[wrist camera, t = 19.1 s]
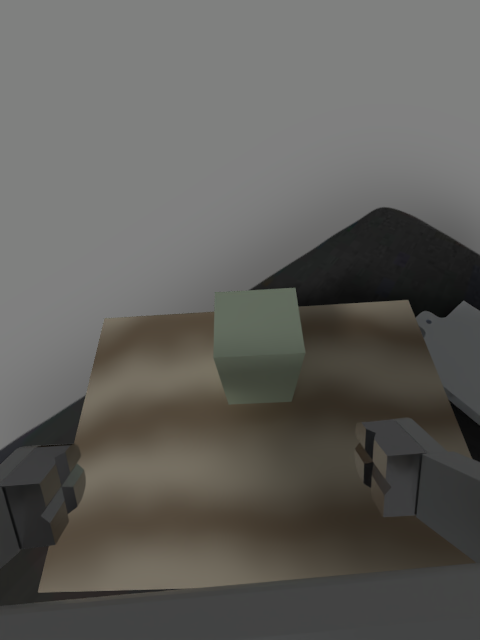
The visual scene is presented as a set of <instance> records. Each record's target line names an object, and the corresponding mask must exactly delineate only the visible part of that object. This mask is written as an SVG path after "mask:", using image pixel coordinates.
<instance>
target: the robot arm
mask: <svg viewBox="0 0 480 640" xmlns="http://www.w3.org/2000/svg"><path fill="white" fill-rule="evenodd" d="M355 436H356V437H357V439H358V440H359V444H358V445H357V446H356V448H355V463H356V468H357V471H358V474H359V476H360V478H361V480H362V482H363V483H364V484H365V485H367V486H368V487H370V488H371V497H372V499H373V501H374V502H375V504H376V506H377V508H378V509H379V511H380V513H381V514H382V516H383V517H397V516H415V515H416V517H417V518H418V519H419V520H421V521H422V522H423V523H425V524H426V525H427V526H428V527H430V528H431V529H432V530H434V531H435V532H436V533H438V534H439V535H440V536H442V537H443V538H444V539H446V540H447V541H448V542H450V543H451V544H452V545H454V546H455V547H456V548H458V549H459V550H460V551H462V552H463V553H464V554H465V555H467V556H468V557H469V558H471V559H472V560H473V561H475V562H476V563H471V564H460V565H449V566H437V567H426V568H415V569H404V570H393V571H382V572H371V573H360V574H349V575H337V576H326V577H315V578H304V579H293V580H282V581H270V582H259V583H248V584H237V585H226V586H214V587H203V588H192V589H181V590H169V591H158V592H147V593H136V594H125V595H115V596H104V597H93V598H82V599H71V600H60V601H50V602H39V603H28V604H17V605H6V606H0V640H480V462H478V461H476V460H473V459H471V458H468V457H466V456H464V455H461V454H459V453H456V452H454V451H453V452H448V451H446V450H445V449H444V448H443V447H442V446H441V445H440V444H439V443H438V442H437V441H436V440H434V439H433V438H432V437H431V436H430V435H429V434H428V433H427V432H426V431H425V430H424V429H422V428H421V427H420V426H419V425H418V424H417V423H416V422H415V421H414V420H413V419H411V418H408V417H406V418H397V419H391V420H380V421H370V422H359V423H357V425H356V429H355ZM80 458H81V453H80V449H79V446H78V445H76V444H57V445H41V446H26V447H21V448H17V449H16V450H15V451H14V452H13V453H12V454H11V455H10V456H9V457H8V458H7V459H6V460H5V461H3V462H2V463H1V464H0V568H1V567H3V566H4V565H5V564H6V563H7V562H8V561H9V560H11V559H12V558H13V557H14V556H15V555H16V554H17V553H18V552H20V549H26V548H34V547H43V546H51V545H56V543H57V541H58V540H59V538H60V536H61V535H62V533H63V531H64V529H65V528H66V526H67V524H68V523H69V518H68V514H69V513H70V512H71V511H73V510H74V509H75V508H77V507H78V505H79V503H80V501H81V500H82V498H83V494H84V490H85V487H86V476H85V471H84V469H83V468H82V467H81V466H80V465H79V464H77V463H78V461H79V460H80Z"/></svg>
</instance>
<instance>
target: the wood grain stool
mask: <svg viewBox="0 0 480 640" xmlns="http://www.w3.org/2000/svg"><path fill="white" fill-rule="evenodd" d="M298 308H299V315H300V321H301V328H302V334H303V341H304V347H305V356H304V360H303V363H302V367H301V370H300V374H299V378H298V381H297V385H296V388H295V392H294V395H293V399H292V402H276V403H253V404H230V405H229V404H228V401H227V398H226V395H225V392H224V389H223V386H222V383H221V380H220V377H219V374H218V371H217V367H216V364H215V361H214V358H213V349H214V312H204V313H187V314H172V315H171V314H170V315H154V316H137V317H121V318H105V319H104V323H103V327H102V331H101V335H100V339H99V344H98V348H97V352H96V356H95V360H94V364H93V368H92V373H91V376H90V380H89V385H88V389H87V393H86V397H85V401H84V405H83V409H82V413H81V417H80V421H79V426H78V430H77V434H76V438H75V442H74V444H76V445H78V446H79V449H80V453H81V458H80V460H79V461H78V463H77V464H79V465H80V466H81V467H82V468H83V469H84V471H85V476H86V487H85V490H84V494H83V498H82V500H81V501H80V503H79V505H78V507H77V508H75V509H74V510H73V511H71V512H70V513H69V514H68V518H69V523H68V524H67V526H66V528H65V529H64V531H63V533H62V535H61V536H60V538H59V540H58V541H57V543H56V545H51V546H49V549H48V553H47V557H46V561H45V565H44V569H43V573H42V577H41V581H40V585H39V590H38V593H41V592H77V591H113V590H148V589H184V588H203V587H214V586H226V585H237V584H248V583H259V582H270V581H282V580H293V579H304V578H315V577H326V576H337V575H349V574H360V573H371V572H382V571H393V570H404V569H415V568H426V567H437V566H449V565H460V564H471V563H476V562H475V561H473V560H472V559H471V558H469V557H468V556H467V555H465V554H464V553H463V552H462V551H460V550H459V549H458V548H456V547H455V546H454V545H452V544H451V543H450V542H448V541H447V540H446V539H444V538H443V537H442V536H440V535H439V534H438V533H436V532H435V531H434V530H432V529H431V528H430V527H428V526H427V525H426V524H425V523H423V522H422V521H421V520H419V519H418V518H417V517H416V515H415V516H397V517H383V516H382V514H381V513H380V511H379V509H378V508H377V506H376V504H375V502H374V501H373V499H372V497H371V488H370V487H368V486H367V485H365V484H364V483H363V482H362V480H361V478H360V476H359V474H358V471H357V468H356V463H355V448H356V446H357V445H358V444H359V440H358V439H357V437H356V436H355V429H356V425H357V423H359V422H370V421H380V420H391V419H397V418H406V417H408V418H411V419H413V420H414V421H415V422H416V423H417V424H418V425H419V426H420V427H421V428H422V429H424V430H425V431H426V432H427V433H428V434H429V435H430V436H431V437H432V438H433V439H434V440H436V441H437V442H438V443H439V444H440V445H441V446H442V447H443V448H444V449H445V450H446V451H448V452H453V451H454V452H456V453H459V454H461V455H464V456H466V457H468V458H471V459H472V457H471V455H470V452H469V450H468V447H467V445H466V442H465V440H464V437H463V435H462V432H461V430H460V427H459V425H458V422H457V420H456V417H455V415H454V412H453V410H452V407H451V405H450V402H449V400H448V397H447V395H446V393H445V390H444V388H443V385H442V383H441V380H440V378H439V375H438V373H437V370H436V368H435V365H434V363H433V360H432V358H431V355H430V353H429V350H428V348H427V345H426V343H425V340H424V338H423V335H422V333H421V330H420V328H419V325H418V323H417V320H416V318H415V316H414V313H413V311H412V308H411V306H410V303H409V301H408V300H400V301H383V302H367V303H350V304H334V305H317V306H301V307H298Z"/></svg>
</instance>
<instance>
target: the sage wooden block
mask: <svg viewBox="0 0 480 640" xmlns="http://www.w3.org/2000/svg"><path fill="white" fill-rule="evenodd" d="M304 356H305V347H304V341H303V334H302V328H301V321H300V315H299V308H298V302H297V295H296V289H295V288H284V289H267V290H250V291H234V292H215V307H214V349H213V358H214V361H215V364H216V367H217V371H218V374H219V377H220V380H221V383H222V386H223V389H224V392H225V395H226V398H227V401H228V404H229V405H230V404H253V403H276V402H292V399H293V395H294V392H295V388H296V385H297V381H298V378H299V374H300V370H301V367H302V363H303V360H304Z"/></svg>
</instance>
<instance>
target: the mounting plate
mask: <svg viewBox="0 0 480 640" xmlns="http://www.w3.org/2000/svg"><path fill="white" fill-rule="evenodd" d="M416 320H417V323H418V325H419V328H420V330H421V333H422V335H423V338H424V340H425V343H426V345H427V348H428V350H429V353H430V355H431V358H432V360H433V363H434V365H435V368H436V370H437V373H438V375H439V378H440V380H441V383H442V385H443V388H444V390H445V393H446V395H447V397H448V400H449V401H451V402H452V403H453V404H454V405H455V406H457V407H458V408H459V409H460V410H462V411H463V412H464V413H465V414H466V415H468V416H469V417H470V418H471V419H473V420H474V421H475V422H476V423H477V424H479V425H480V311H479V310H477V309H476V308H474V307H473V306H471V305H470V304H468V303H467V302H465V301H463V302H462V303H460V304H459V305H458V306H457V307H456V308H455V309H454V310H453V311H452V312H451V313H450V314H449V315H448V316H447V317H444V318H440V317H437V316H435V315H434V314H433V313H431V312H429V311H423V312H421V313H420V314H419V315H418V316H417V317H416Z"/></svg>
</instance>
